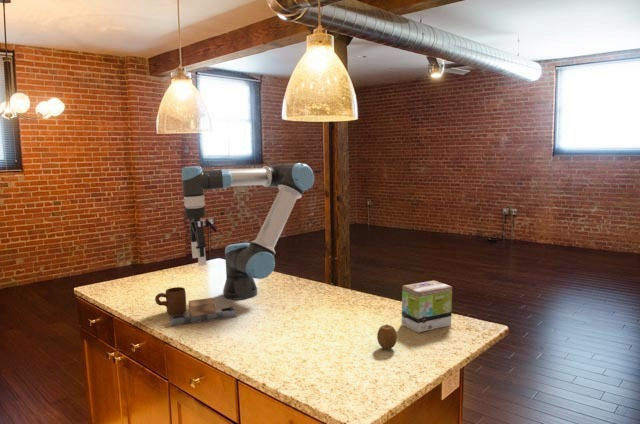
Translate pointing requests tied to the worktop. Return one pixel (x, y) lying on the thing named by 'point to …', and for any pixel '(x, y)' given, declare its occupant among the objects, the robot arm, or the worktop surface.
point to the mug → (173, 300)
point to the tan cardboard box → (202, 307)
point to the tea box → (426, 305)
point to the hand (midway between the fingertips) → (199, 261)
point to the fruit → (387, 336)
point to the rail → (202, 317)
